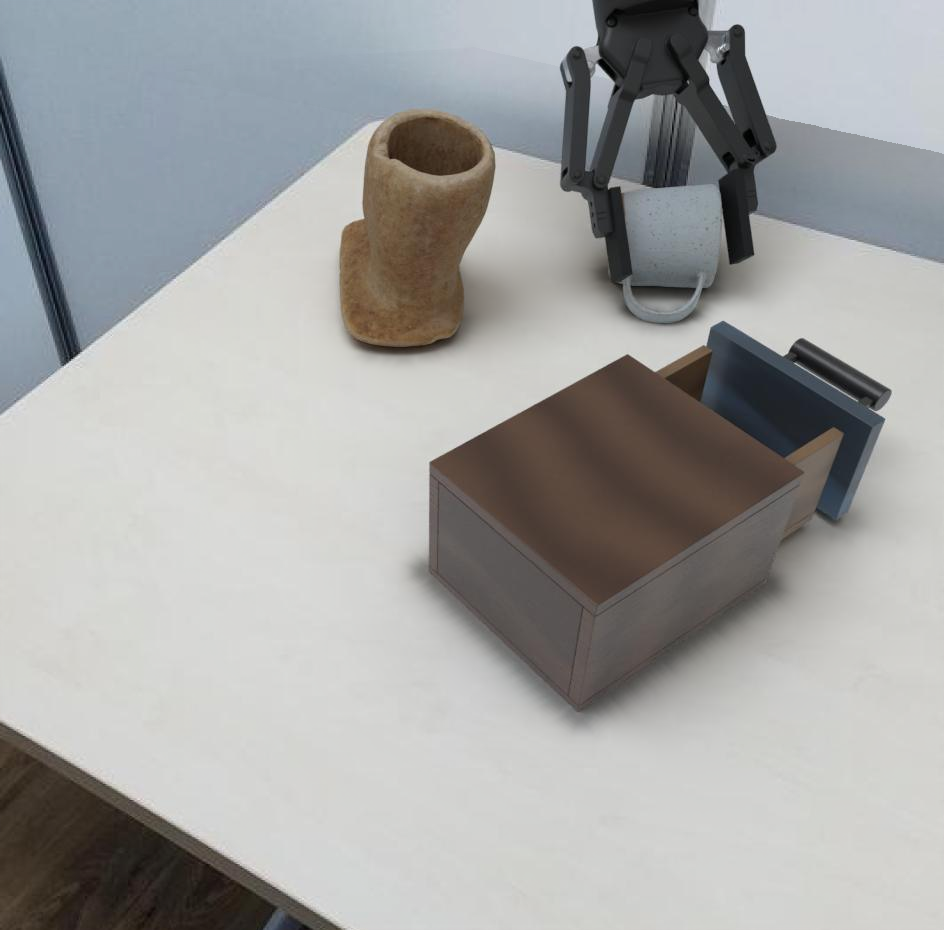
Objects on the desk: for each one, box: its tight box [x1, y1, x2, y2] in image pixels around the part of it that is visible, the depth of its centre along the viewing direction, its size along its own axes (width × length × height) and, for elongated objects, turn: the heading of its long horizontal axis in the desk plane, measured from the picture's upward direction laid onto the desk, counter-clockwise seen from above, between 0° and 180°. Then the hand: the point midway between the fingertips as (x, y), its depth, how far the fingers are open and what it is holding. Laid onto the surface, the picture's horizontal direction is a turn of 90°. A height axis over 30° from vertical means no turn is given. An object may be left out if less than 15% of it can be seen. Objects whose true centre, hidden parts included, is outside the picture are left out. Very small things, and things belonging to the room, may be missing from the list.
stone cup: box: [339, 108, 497, 348], centre depth 86 cm, size 15×12×15 cm
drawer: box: [654, 320, 893, 541], centre depth 72 cm, size 20×13×8 cm, turn 125°
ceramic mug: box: [607, 183, 723, 324], centre depth 88 cm, size 11×8×8 cm
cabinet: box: [428, 353, 805, 713], centre depth 68 cm, size 16×14×10 cm
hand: (682, 269), depth 86 cm, fingers closed on ceramic mug, 9 cm apart
